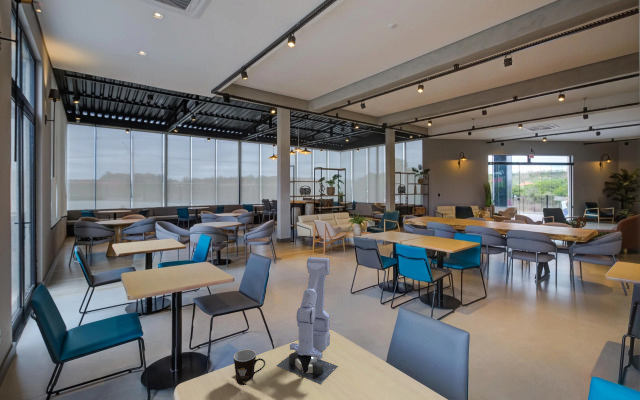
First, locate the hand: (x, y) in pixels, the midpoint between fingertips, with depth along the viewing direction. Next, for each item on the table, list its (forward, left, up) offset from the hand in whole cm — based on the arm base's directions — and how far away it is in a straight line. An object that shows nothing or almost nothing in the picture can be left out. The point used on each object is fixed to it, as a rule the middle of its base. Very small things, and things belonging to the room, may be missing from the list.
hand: (305, 371), depth 120 cm
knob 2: (-3, +1, -1) cm, 4 cm away
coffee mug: (+13, -18, -3) cm, 23 cm away
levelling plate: (-6, -3, -3) cm, 7 cm away
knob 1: (-4, -7, -1) cm, 8 cm away
